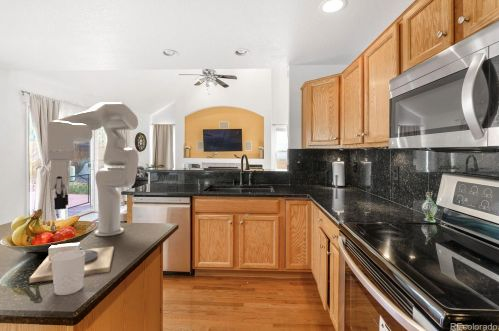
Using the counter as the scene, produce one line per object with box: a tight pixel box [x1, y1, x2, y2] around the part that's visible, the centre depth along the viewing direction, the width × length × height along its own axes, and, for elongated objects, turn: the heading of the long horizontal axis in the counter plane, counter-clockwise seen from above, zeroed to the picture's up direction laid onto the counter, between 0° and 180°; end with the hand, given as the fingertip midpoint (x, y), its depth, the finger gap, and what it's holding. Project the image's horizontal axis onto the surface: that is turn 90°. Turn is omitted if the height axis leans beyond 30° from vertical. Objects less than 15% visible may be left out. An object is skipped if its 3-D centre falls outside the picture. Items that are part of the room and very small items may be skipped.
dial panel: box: [28, 246, 115, 284], centre depth 92 cm, size 21×21×4 cm
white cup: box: [51, 249, 85, 296], centre depth 75 cm, size 8×8×10 cm
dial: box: [47, 241, 98, 263], centre depth 92 cm, size 14×12×5 cm
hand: (61, 206), depth 94 cm, fingers open, 6 cm apart
